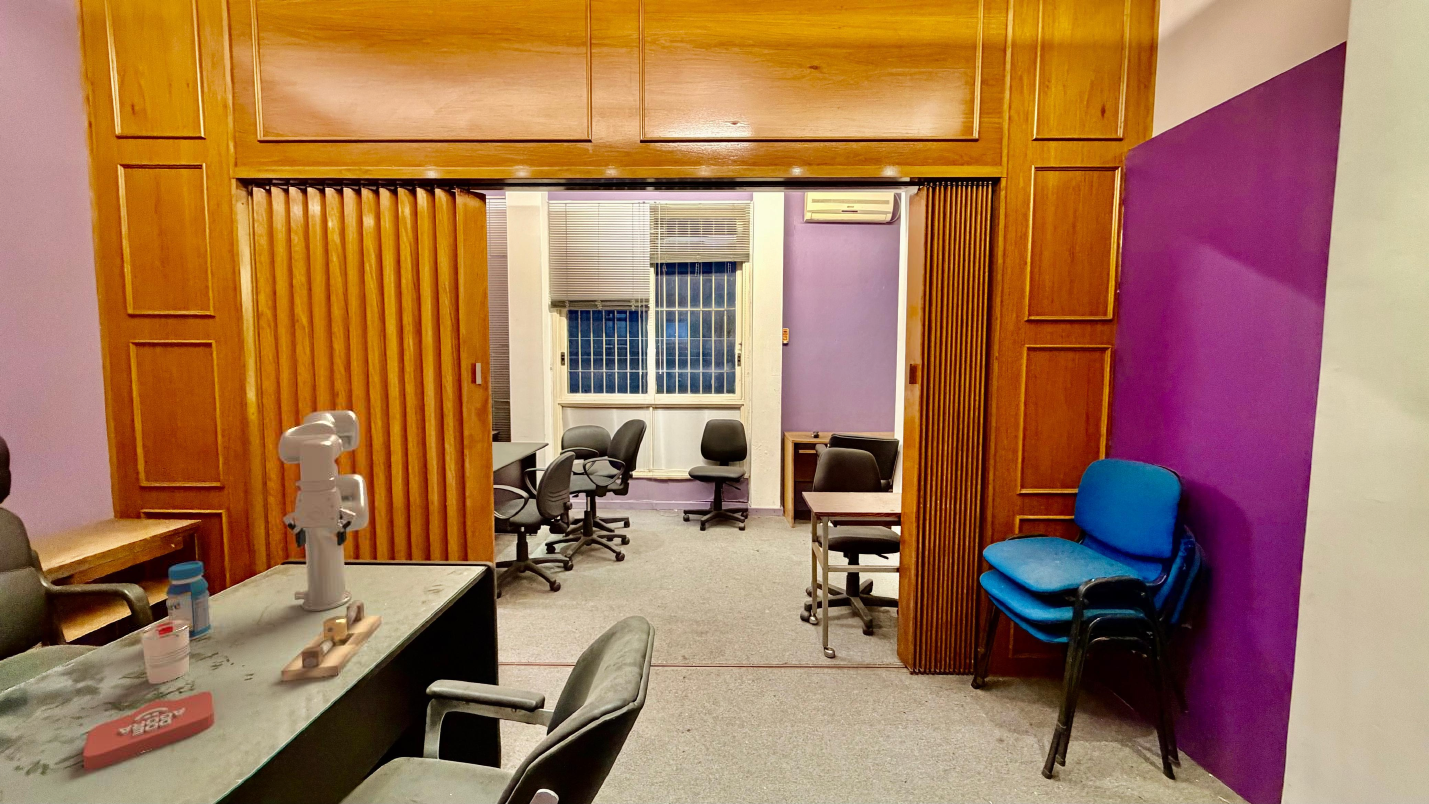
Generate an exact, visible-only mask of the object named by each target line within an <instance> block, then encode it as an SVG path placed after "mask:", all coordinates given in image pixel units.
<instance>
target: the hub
mask: <svg viewBox="0 0 1429 804" xmlns="http://www.w3.org/2000/svg"><path fill="white" fill-rule="evenodd" d="M322 625H323V630H324V641H326V640H330V641H332V643H333V646H332V647H334V646H344V645H345V644H346V643H347V642H348V639H347V619H346V617H345V615H336V616H333V617H332V616H331V617H329V618H328V619H326V620H324V621H323V623H322Z"/></svg>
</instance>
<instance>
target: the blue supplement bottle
mask: <svg viewBox="0 0 1429 804" xmlns="http://www.w3.org/2000/svg"><path fill="white" fill-rule="evenodd" d="M167 572H168V580H169V582H171V583H170V584H169V586H168V587H167V589H166V594H165V596H167V599H166V603H165V604H166V607H167V613H168V621H173V620H189V621H190V624H189V641H192V640H195V639H198V638H201V637H203V636H205V635H207V634H208V633H209V632H210V631H211V629H212V625H211V622H210V620H211V619H210V606H209V604H210V603H209V598H210V592H209V590H208V587H209V584H208V582H207V581H206V579H205V578H204V577H203V575H204V564H203V561H198V560H197V561H195V560H194V561H188V562H182V563H179V564H176V565H172V566H171V567H169V568H168V571H167Z"/></svg>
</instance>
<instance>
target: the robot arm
mask: <svg viewBox="0 0 1429 804" xmlns="http://www.w3.org/2000/svg"><path fill="white" fill-rule="evenodd" d="M359 443H360V423H359V418H358V417H357V415H356V413H354V412H353V411H351V410H347V409H345V410H323V411H322V410H321V411H320V410H319V411H314V412H311V413H309V414H308V415H306V416H305V418H304V419H303V421H302V424H301V425H298V426H296V427H292V428H290V429H287V430H285V431H284V432H283V433H281V436H280V439H279V443H278V447H277V448H278V449H277V450H278V452H277V453H278V456H279V458H280V460H281V461H282V462H284V463H286V464H299V468H300V469H299V470H300V471H299V472H300V480H297V481H295V486H296V487H300V488H299V489H300V490H298V491H297V493H296V495H297V496H296V497H295V498H296V499H295V508H294V512H291V513H289V514H287V515H285V516H283V518H282V519H283V522H284V523H285V525H286V526H287V528H288V529H289V530H291V531H292V534H295V536H294V537H295V544H296V547H297V548H302V547H303V546H304V547H305V548H304V549H305V560H306V561H305V562H306V563H305V565H306V579H307V580H306V581H307V582H306V583H307V589H306V590H296V591H295V592H294V594H293V595H294V596H293V597H294V600H295V601H298V600H304V601H303V602H302V604H301V607H302V609H303V610H304V611H308V612H319V611H326V610H331V609H335V608H337V607H341V606H343V605H344V604H347V603H348V602H349V601H350V600H351V599H352V593H351V591H348V590H346V574H345V557H344V555H345V553H344V545H343V544H345V542H346V541H347V539H348V538H347V537H348V536H347V535H348V534H347V533H348V532H352V531H357V530H362V529H364V528H365V527H367V525H368V524H369V518H370V516H369V515H370V513H369V499H368V490H367V485H366V480H365V478H364V477H363V476H362V475H360V474H357V473H353V474H351V473H350V474H349V473H347V474H339V467H338V465H337V463H335V460H336V459H338V458H339V456H340V455H341V454H342V452H349V451H353V450H356V449H357V448H358V447H359ZM293 519H294V520H293ZM335 534H336V536H335Z"/></svg>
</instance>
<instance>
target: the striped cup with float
mask: <svg viewBox="0 0 1429 804" xmlns="http://www.w3.org/2000/svg"><path fill="white" fill-rule="evenodd" d="M189 624H190V621H189V620H173V621H169V620H168V621H164V622H162V623H158V624H154V625H152V626H149V627H148V628H146V629H144V630H142V631H141V632H140V633H139V637H141V642H142V649H143V659H144V665H145V669H146V676H147V682H148V683H149V684H152V685H156V684H164V683H163V682H165V683H168V682H171V680H172V681H174V680H177V679H179V678H181V677H183V676H184V674H185V673H186V674H188V672H189V670H190V640H189ZM186 674H185V675H186ZM182 675H183V676H182ZM178 677H179V678H178ZM176 678H177V679H176ZM173 679H174V680H173ZM167 681H168V682H167Z"/></svg>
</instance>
